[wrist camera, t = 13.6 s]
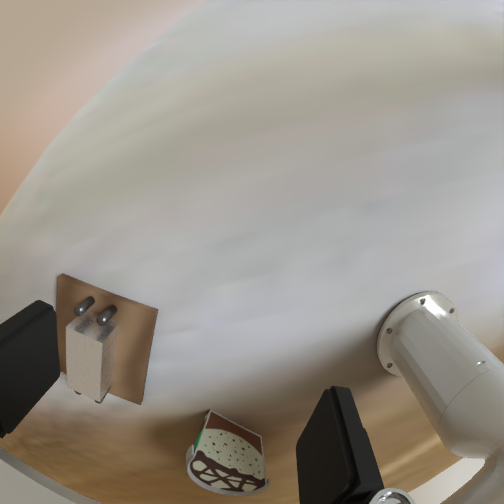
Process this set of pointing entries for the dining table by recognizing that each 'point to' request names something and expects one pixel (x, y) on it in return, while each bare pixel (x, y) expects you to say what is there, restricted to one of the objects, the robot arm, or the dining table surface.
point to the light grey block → (91, 355)
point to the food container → (227, 458)
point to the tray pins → (101, 320)
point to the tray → (129, 334)
